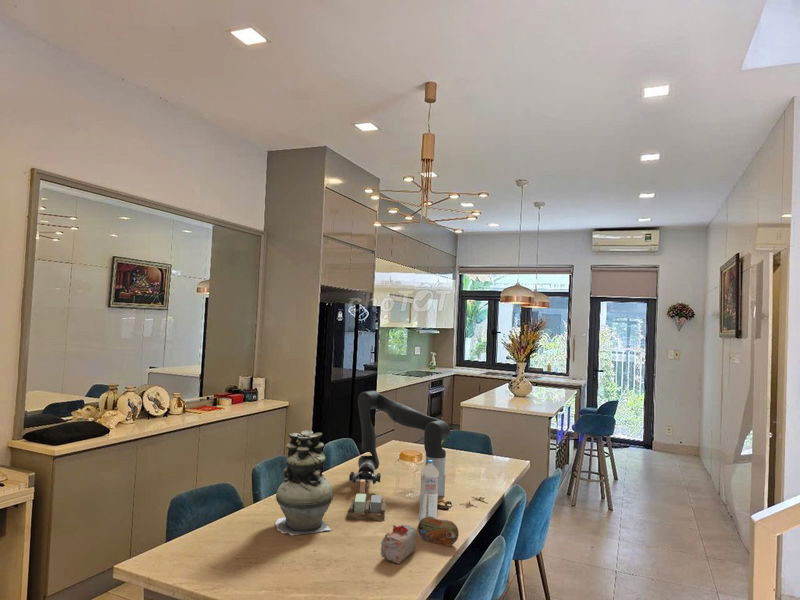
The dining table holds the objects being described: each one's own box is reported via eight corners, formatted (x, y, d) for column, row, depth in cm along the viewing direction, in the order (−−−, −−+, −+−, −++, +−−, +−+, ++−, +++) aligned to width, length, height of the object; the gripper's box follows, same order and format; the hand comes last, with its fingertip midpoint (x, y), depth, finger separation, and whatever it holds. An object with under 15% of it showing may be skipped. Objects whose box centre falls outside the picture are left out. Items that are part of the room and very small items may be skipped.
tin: (417, 539, 192) (418, 515, 192) (420, 536, 195) (421, 512, 195) (455, 549, 185) (456, 524, 185) (459, 546, 188) (460, 521, 188)
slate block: (380, 510, 221) (381, 495, 221) (379, 517, 212) (380, 502, 212) (371, 509, 221) (371, 494, 221) (369, 517, 212) (370, 502, 212)
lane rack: (385, 509, 221) (385, 501, 221) (384, 520, 209) (384, 511, 209) (351, 507, 221) (352, 499, 221) (348, 518, 209) (349, 509, 209)
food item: (400, 567, 169) (401, 535, 170) (378, 561, 173) (379, 530, 173) (417, 551, 181) (419, 522, 182) (396, 546, 185) (398, 517, 185)
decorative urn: (282, 542, 185) (287, 441, 186) (268, 519, 204) (272, 428, 205) (339, 532, 195) (344, 437, 196) (320, 511, 214) (325, 424, 214)
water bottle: (438, 524, 207) (441, 459, 208) (433, 530, 201) (436, 463, 202) (421, 521, 209) (424, 457, 211) (416, 527, 203) (419, 461, 204)
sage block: (366, 503, 228) (367, 479, 228) (363, 517, 211) (365, 491, 212) (357, 502, 228) (358, 479, 228) (353, 516, 211) (355, 491, 212)
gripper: (352, 462, 253) (348, 472, 237) (381, 464, 253) (380, 473, 237) (351, 478, 253) (347, 489, 237) (381, 480, 253) (379, 490, 236)
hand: (364, 481), depth 237 cm, fingers open, 8 cm apart
